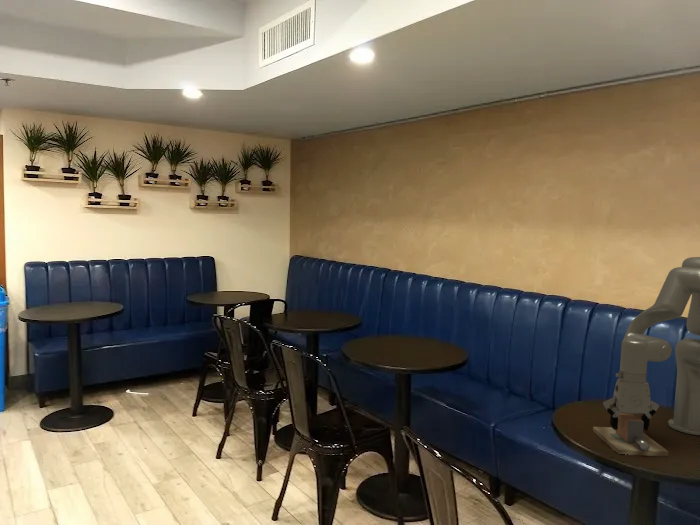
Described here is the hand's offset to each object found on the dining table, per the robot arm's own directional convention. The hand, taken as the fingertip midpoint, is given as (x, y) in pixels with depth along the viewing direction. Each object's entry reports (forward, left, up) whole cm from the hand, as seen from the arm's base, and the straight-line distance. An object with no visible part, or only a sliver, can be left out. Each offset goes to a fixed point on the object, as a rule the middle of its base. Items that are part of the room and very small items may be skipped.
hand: (629, 428), depth 169 cm
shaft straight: (0, +8, -3) cm, 8 cm away
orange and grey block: (0, 0, -3) cm, 3 cm away
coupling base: (0, 0, -5) cm, 5 cm away
